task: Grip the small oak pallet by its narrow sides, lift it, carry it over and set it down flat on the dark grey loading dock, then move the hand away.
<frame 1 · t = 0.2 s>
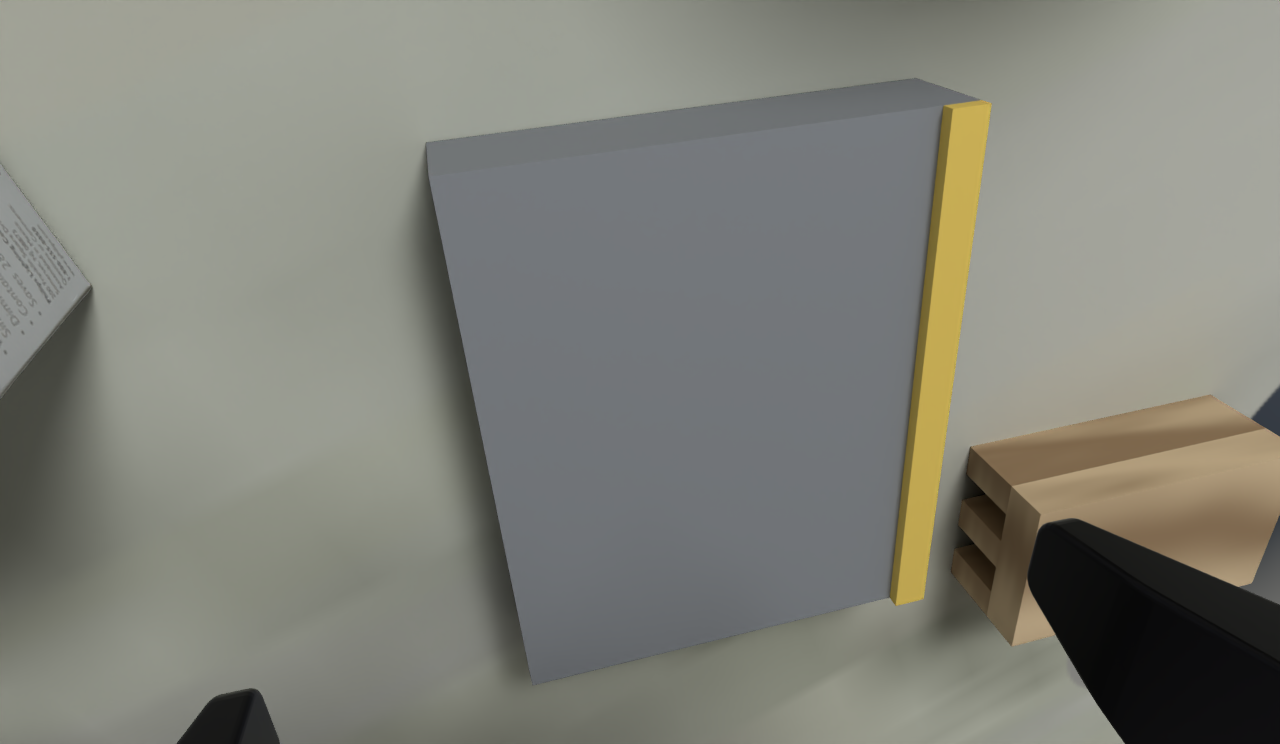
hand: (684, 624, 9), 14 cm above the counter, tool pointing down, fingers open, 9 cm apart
pallet: (1075, 483, 32), on the counter
dock: (695, 377, 25), on the counter
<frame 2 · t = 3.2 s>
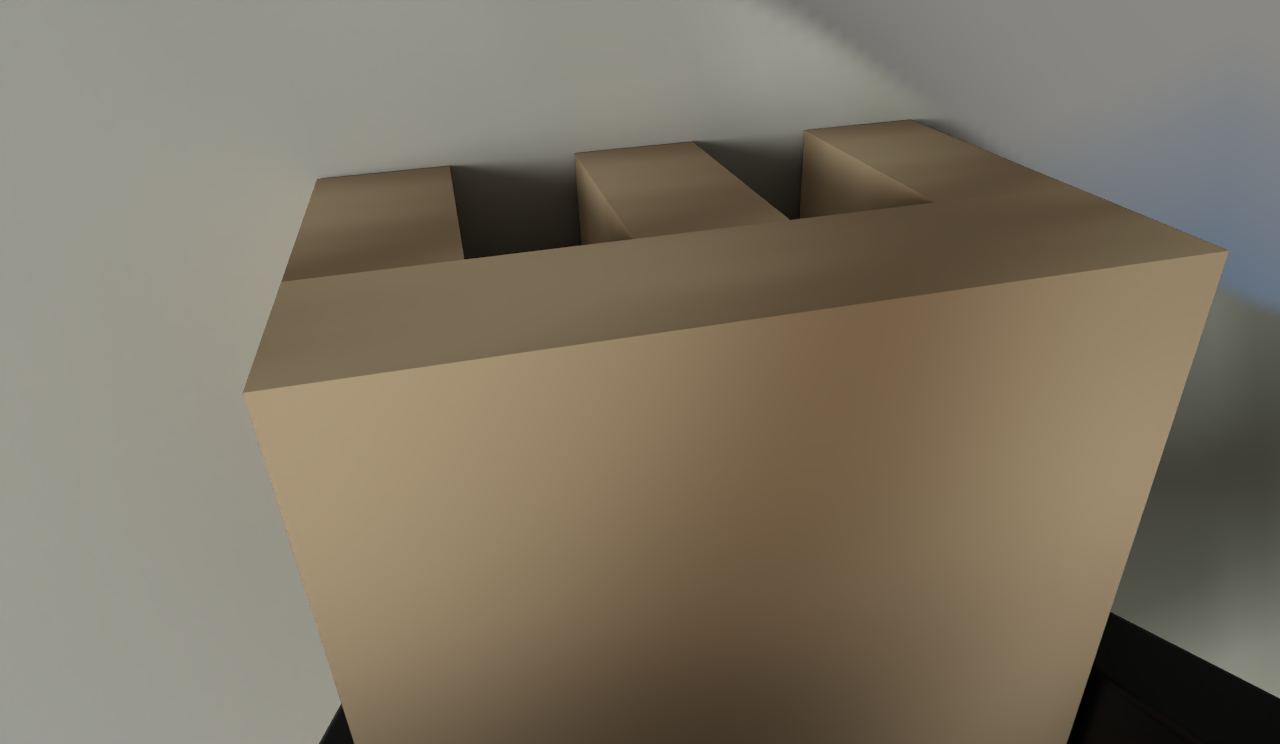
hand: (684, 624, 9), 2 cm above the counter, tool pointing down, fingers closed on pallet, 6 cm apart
pallet: (650, 538, 11), on the counter, touching gripper
when the fingers open (6 cm above the counter, at t = 8.2 s): pallet drops 1 cm, resting on dock.
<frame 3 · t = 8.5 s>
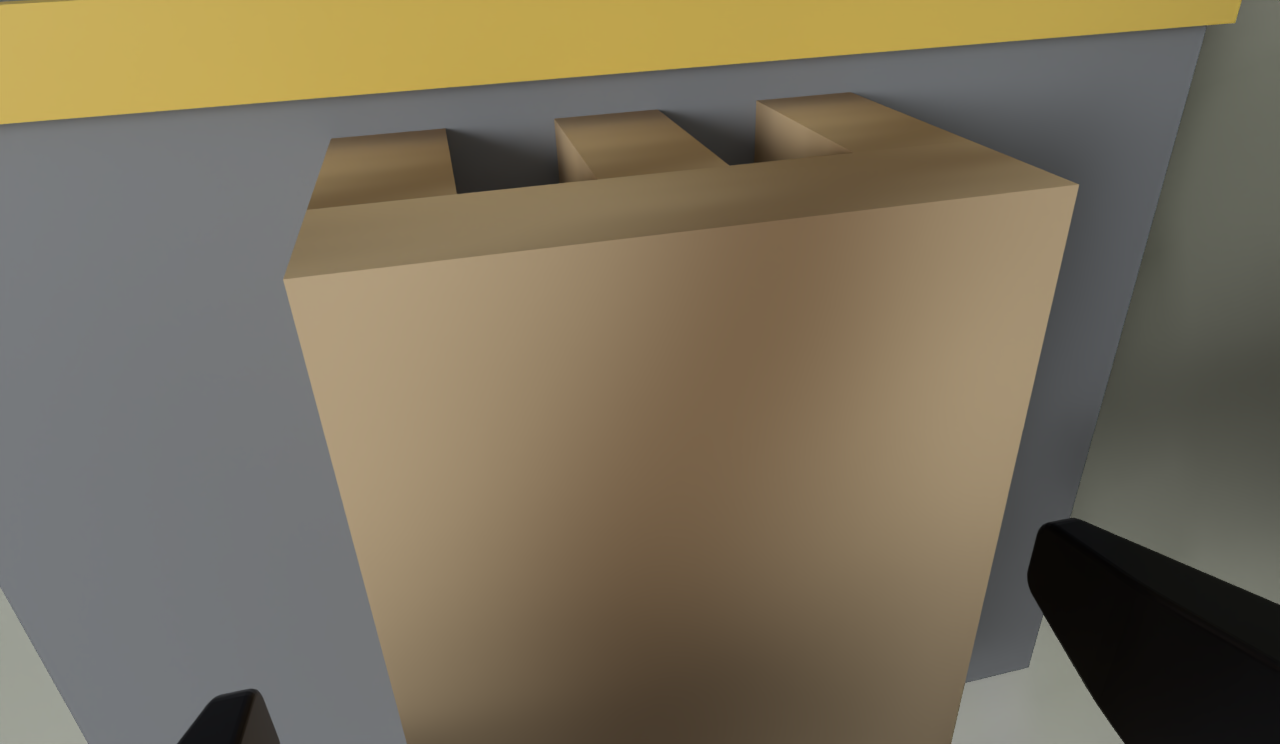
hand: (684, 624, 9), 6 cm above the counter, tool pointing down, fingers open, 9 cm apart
pallet: (625, 471, 12), point 3 cm above the counter, touching dock
dock: (584, 373, 14), on the counter
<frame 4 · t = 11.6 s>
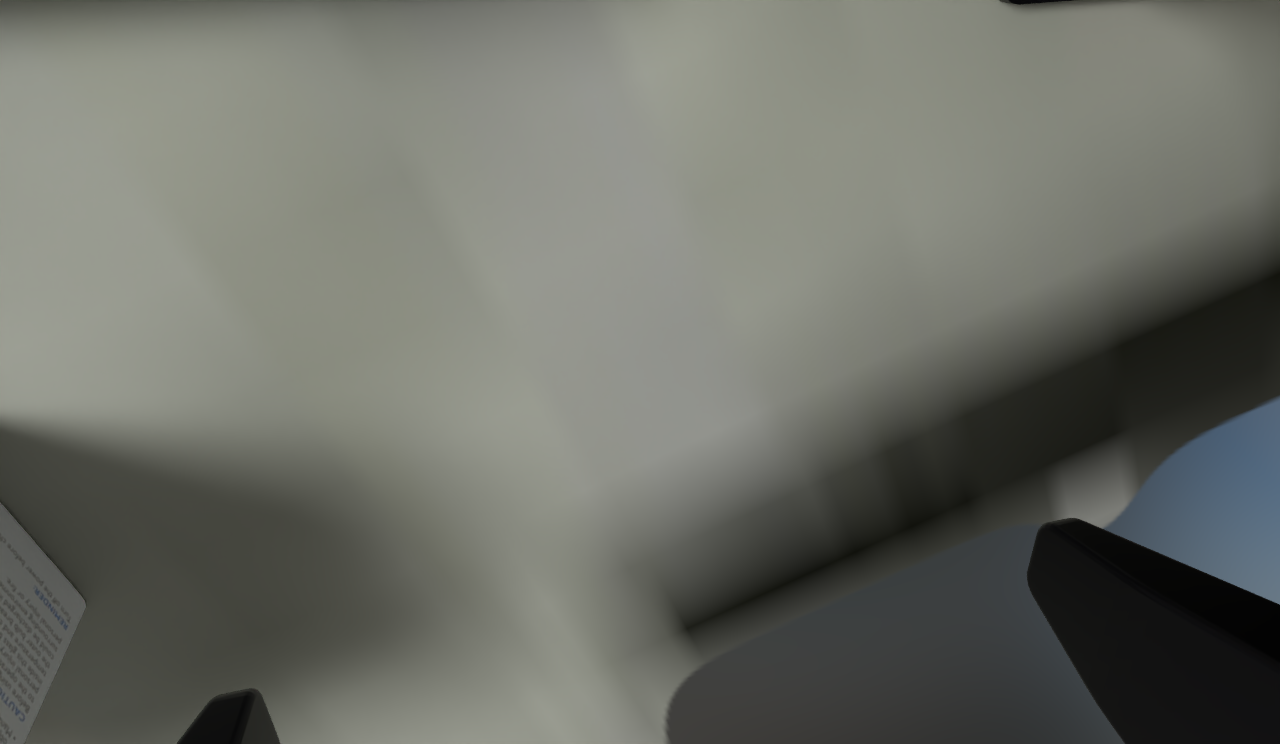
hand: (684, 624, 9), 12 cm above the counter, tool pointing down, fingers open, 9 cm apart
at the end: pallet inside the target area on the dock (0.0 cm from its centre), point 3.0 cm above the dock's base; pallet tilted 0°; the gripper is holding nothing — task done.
